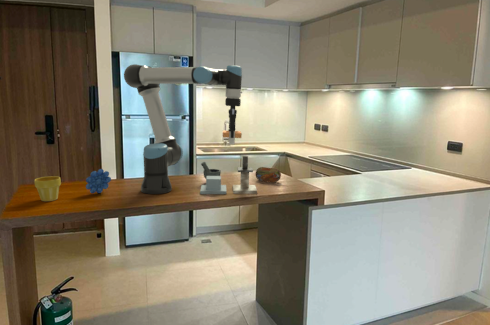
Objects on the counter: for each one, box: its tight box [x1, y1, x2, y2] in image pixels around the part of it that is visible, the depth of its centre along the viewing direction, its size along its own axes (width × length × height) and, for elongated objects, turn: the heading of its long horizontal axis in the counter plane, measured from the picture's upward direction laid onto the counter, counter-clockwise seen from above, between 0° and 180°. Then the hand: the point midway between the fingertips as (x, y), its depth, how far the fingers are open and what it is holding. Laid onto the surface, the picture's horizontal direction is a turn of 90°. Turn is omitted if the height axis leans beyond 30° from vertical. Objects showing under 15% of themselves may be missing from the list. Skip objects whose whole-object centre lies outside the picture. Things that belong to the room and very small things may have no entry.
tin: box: [255, 166, 282, 183], centre depth 206 cm, size 15×3×8 cm, turn 65°
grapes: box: [85, 168, 112, 194], centre depth 174 cm, size 12×7×12 cm, turn 120°
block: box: [199, 175, 227, 195], centre depth 183 cm, size 13×13×7 cm
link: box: [222, 130, 243, 139], centre depth 179 cm, size 9×9×2 cm
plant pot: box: [34, 175, 62, 202], centre depth 161 cm, size 10×10×10 cm
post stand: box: [232, 155, 258, 195], centre depth 184 cm, size 12×12×18 cm
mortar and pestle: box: [200, 161, 222, 180], centre depth 200 cm, size 11×9×12 cm
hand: (231, 143), depth 180 cm, fingers closed on link, 9 cm apart
